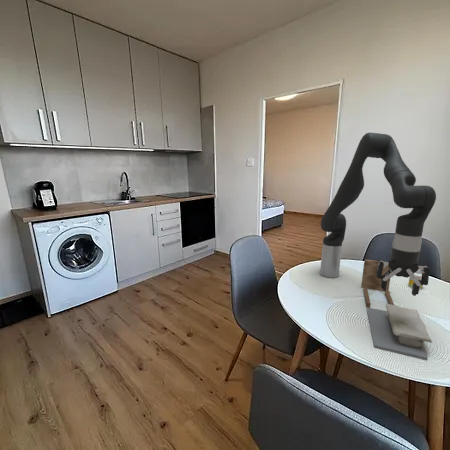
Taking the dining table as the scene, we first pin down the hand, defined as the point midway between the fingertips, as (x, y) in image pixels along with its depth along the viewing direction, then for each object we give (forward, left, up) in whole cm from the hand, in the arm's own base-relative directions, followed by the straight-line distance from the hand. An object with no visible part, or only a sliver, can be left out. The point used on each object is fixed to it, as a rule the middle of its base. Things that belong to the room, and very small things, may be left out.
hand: (398, 292), depth 86 cm
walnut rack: (-2, +21, -15) cm, 26 cm away
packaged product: (-2, 0, -12) cm, 12 cm away
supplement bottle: (+16, +42, -15) cm, 47 cm away
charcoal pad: (0, 0, -15) cm, 15 cm away
